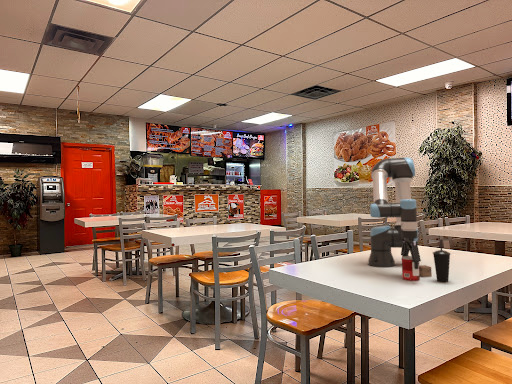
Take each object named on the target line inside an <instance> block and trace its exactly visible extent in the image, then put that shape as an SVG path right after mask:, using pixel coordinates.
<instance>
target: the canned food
mask: <svg viewBox="0 0 512 384" xmlns="http://www.w3.org/2000/svg"><path fill="white" fill-rule="evenodd" d="M412 260H413V259H412V256H411V255H409V256H403V257H402V256H401V272H402V273H401V274H402V275H401V277H402V280H404V281H409V282H416V281H420V279H421V278H420V269H419V276H413V267H412Z"/></svg>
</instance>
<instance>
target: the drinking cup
mask: <svg viewBox="0 0 512 384" xmlns="http://www.w3.org/2000/svg"><path fill="white" fill-rule="evenodd" d="M439 242H440V244H439V245H440V246H439V247H440V249H437V250H435V251H432V256H433V261H434V262H433V263H434V268H435V275H436V281H437V282H438V283H449V276H450V275H449V274H450V259H451V252H449V251H447V250H444V249H443V240H442V239H440V240H439Z"/></svg>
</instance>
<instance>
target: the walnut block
mask: <svg viewBox="0 0 512 384" xmlns="http://www.w3.org/2000/svg"><path fill="white" fill-rule="evenodd" d="M419 269H420V277H421V278H431V277H432V274H433V272H432V266H430V265H427V264H423V265H422V264H421V265H420V264H419Z"/></svg>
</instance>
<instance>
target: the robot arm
mask: <svg viewBox="0 0 512 384" xmlns="http://www.w3.org/2000/svg"><path fill="white" fill-rule="evenodd" d="M415 176H416V167H415V162H414V160H413V158H411V157H396V158H395V157H393V158H384V159H380V160H379V161H378V162H376V163H375V164H374V166H373V167H372V169H371V171H370V177H371V180H372V189H373V194H372V195H373V203H371V204H370V205H369V210H370V214H369V215H370V217H371V218H376V219H377V218H378V219H379V218H380V219H381V218H396V222H395V223H394V225H393V227H391V226H390V225H380V226H375V227H372V228H371V229H370V235H369V236H370V254H369V257H368V262H367V263H368V265H369V266H371V265H372V266H371V267H379V268H390V267H394V266H395V265H396V262H395V258H394V256H393V254H392V248H397V249H398V248H399V249H401V250H400V255H401V258H402V257H403V256H412V259H413V260H412V267H413V276H419V266H420V262H421V261H422V260H421V255H420V250H419V246H418V240H419V227H418V219H417V218H418V214H417V212H418V211H417V208H418V206H417V200H416V199H415V198H412V194H411V182H412V180H413V179H414V177H415ZM388 178H391V181H392V182H393V183H394V188H395V189H394V191H395V193H394V195H395V202H392V203H389V199H388V197H389V195H388V186H387V185H388V182H387V179H388ZM409 253H410V255H409Z"/></svg>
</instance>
